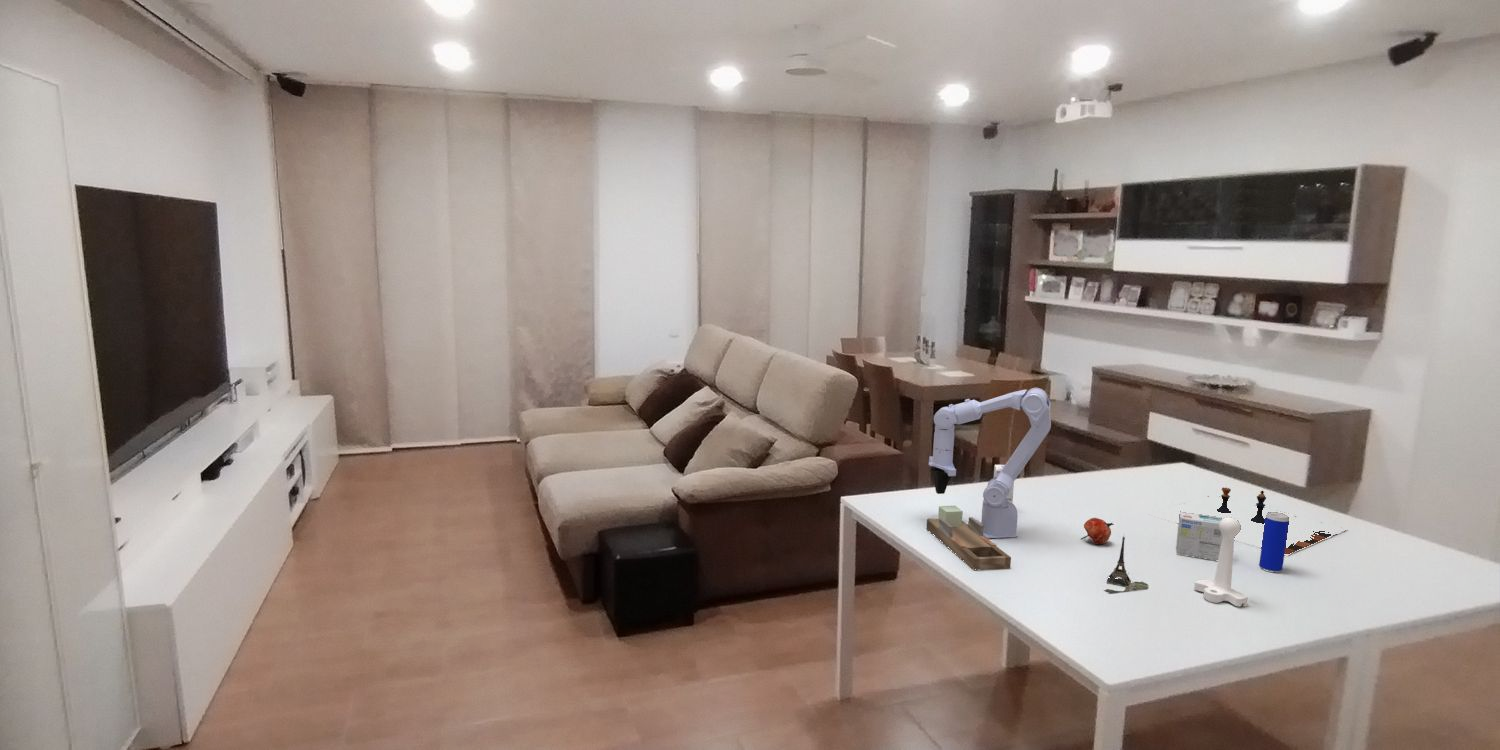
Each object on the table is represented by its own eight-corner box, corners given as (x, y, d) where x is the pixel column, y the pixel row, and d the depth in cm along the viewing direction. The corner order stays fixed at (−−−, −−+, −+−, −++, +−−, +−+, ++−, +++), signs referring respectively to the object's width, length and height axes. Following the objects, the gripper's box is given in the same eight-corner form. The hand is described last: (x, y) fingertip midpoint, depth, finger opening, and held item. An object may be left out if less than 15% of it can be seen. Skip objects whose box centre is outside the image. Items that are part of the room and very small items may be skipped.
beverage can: (1278, 567, 214) (1286, 512, 212) (1284, 574, 210) (1292, 519, 207) (1256, 564, 216) (1263, 510, 214) (1261, 571, 211) (1269, 516, 209)
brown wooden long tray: (958, 527, 239) (959, 507, 238) (1010, 568, 209) (1012, 546, 208) (926, 528, 237) (927, 509, 236) (974, 570, 207) (975, 548, 206)
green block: (954, 520, 236) (955, 505, 235) (961, 526, 231) (962, 511, 230) (937, 521, 235) (938, 506, 234) (945, 527, 230) (946, 511, 229)
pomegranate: (1082, 552, 228) (1114, 538, 222) (1069, 528, 230) (1100, 513, 225) (1091, 548, 233) (1123, 534, 228) (1078, 524, 236) (1109, 510, 230)
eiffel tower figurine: (1108, 596, 195) (1114, 543, 193) (1080, 579, 205) (1085, 528, 202) (1159, 590, 199) (1165, 538, 197) (1129, 574, 209) (1134, 524, 207)
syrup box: (1012, 515, 251) (1015, 470, 248) (992, 513, 252) (995, 468, 249) (1010, 509, 256) (1013, 465, 254) (990, 508, 257) (994, 463, 255)
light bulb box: (1218, 554, 223) (1223, 516, 221) (1220, 562, 217) (1225, 523, 215) (1174, 547, 227) (1178, 510, 226) (1175, 555, 221) (1180, 517, 220)
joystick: (1249, 604, 191) (1260, 523, 188) (1231, 611, 187) (1241, 528, 184) (1203, 586, 201) (1213, 509, 197) (1185, 592, 197) (1194, 513, 194)
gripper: (920, 442, 243) (917, 486, 245) (940, 455, 229) (937, 501, 231) (942, 441, 244) (939, 485, 247) (964, 454, 230) (960, 500, 232)
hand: (940, 493), depth 239 cm, fingers closed
